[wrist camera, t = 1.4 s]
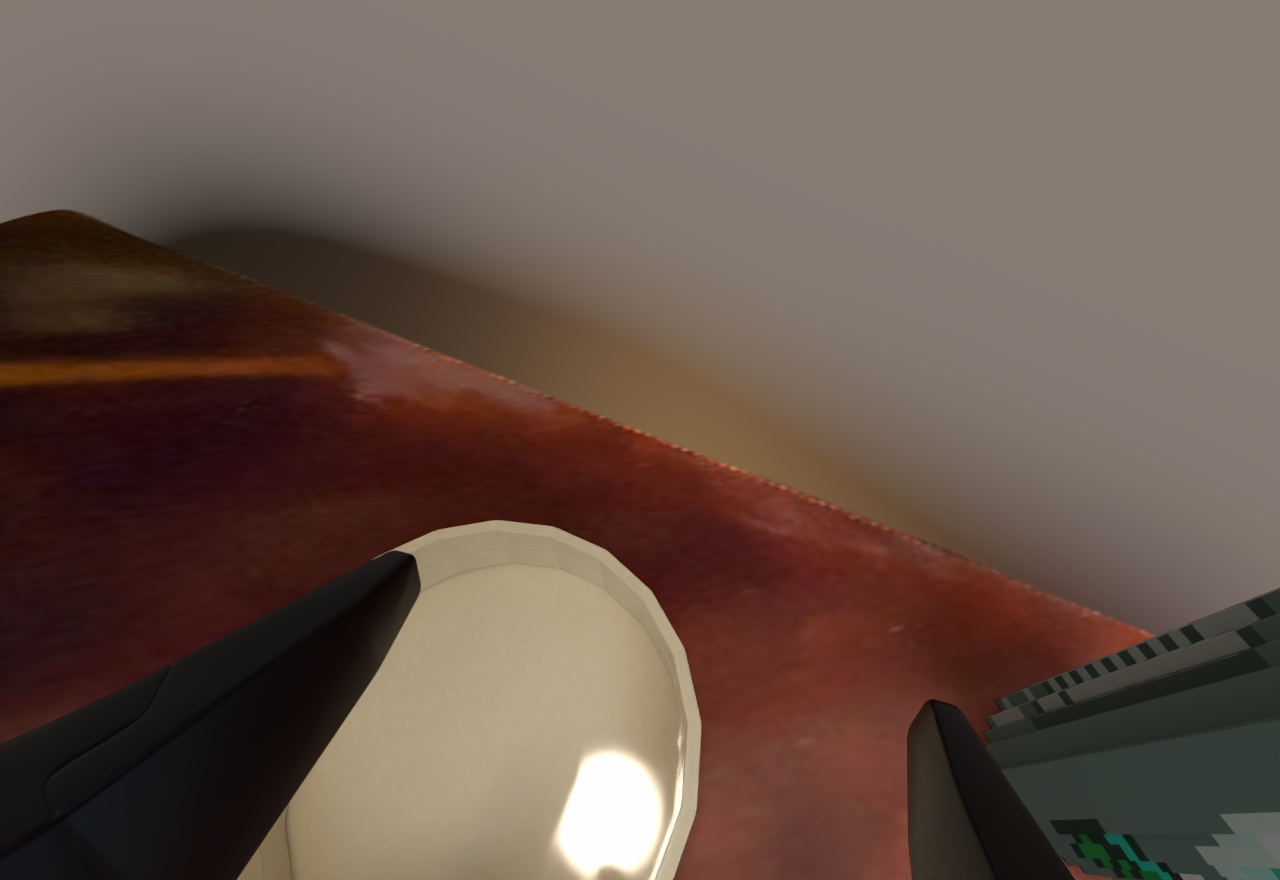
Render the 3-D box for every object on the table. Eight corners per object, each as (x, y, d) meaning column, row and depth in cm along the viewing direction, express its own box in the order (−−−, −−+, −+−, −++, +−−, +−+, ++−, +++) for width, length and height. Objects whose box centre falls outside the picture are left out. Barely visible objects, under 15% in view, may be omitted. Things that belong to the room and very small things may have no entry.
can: (1066, 902, 19) (1813, 1026, 7) (953, 718, 22) (1316, 578, 10) (1201, 833, 20) (2056, 830, 8) (1074, 667, 23) (1533, 485, 11)
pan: (743, 966, 18) (762, 994, 15) (234, 1095, 17) (134, 1157, 13) (650, 533, 27) (650, 493, 24) (317, 592, 26) (270, 557, 23)
